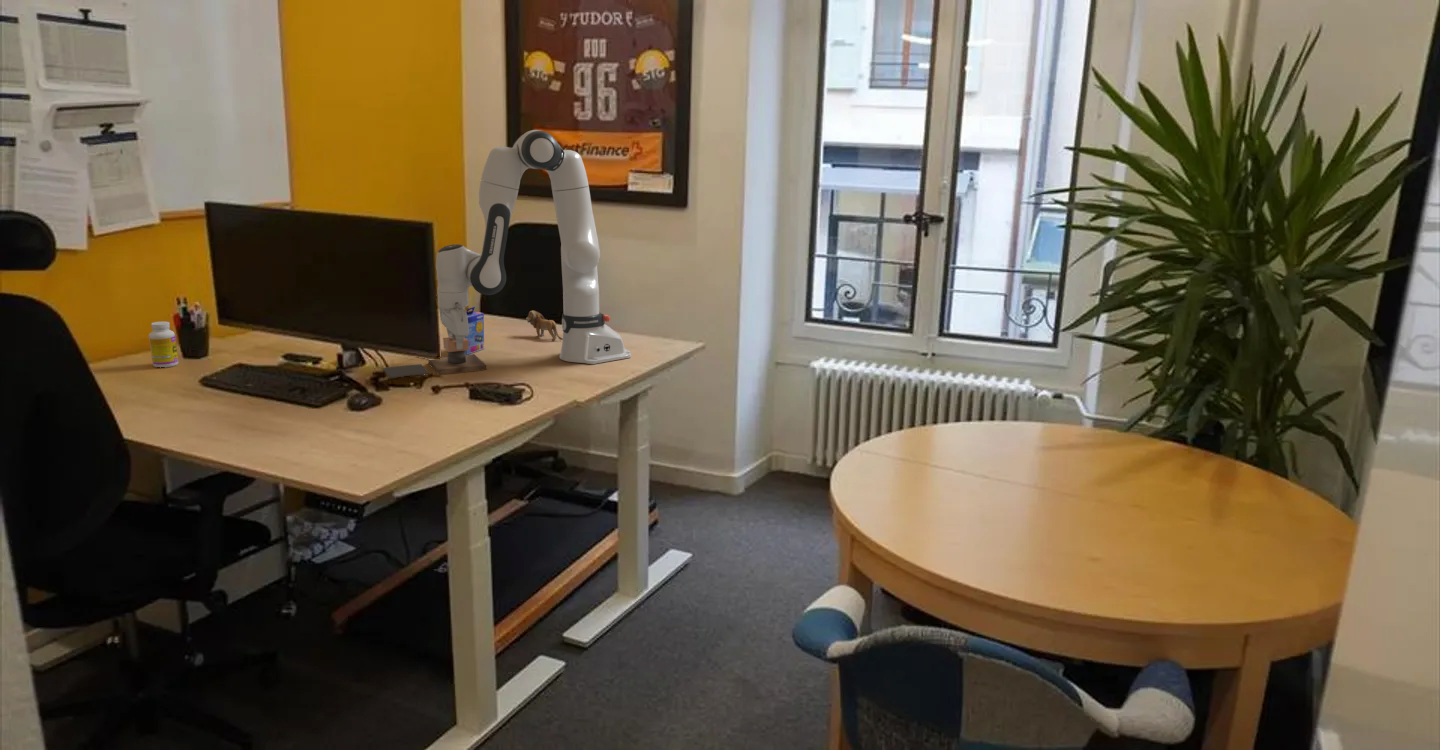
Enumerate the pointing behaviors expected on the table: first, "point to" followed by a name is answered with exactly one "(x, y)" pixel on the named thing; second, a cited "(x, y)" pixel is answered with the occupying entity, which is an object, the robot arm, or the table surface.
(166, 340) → the supplement bottle
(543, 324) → the lion figurine
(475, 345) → the ink cartridge box
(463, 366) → the stand
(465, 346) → the pink slotted block
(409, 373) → the mat
